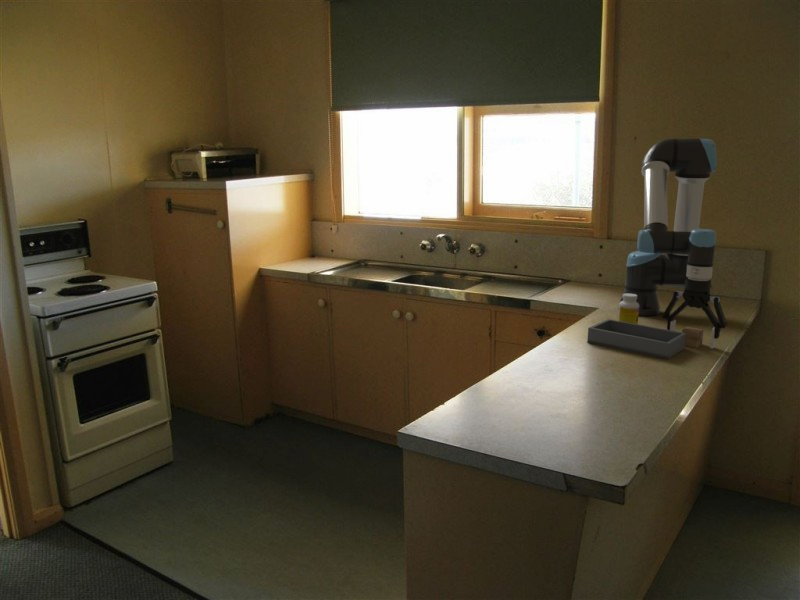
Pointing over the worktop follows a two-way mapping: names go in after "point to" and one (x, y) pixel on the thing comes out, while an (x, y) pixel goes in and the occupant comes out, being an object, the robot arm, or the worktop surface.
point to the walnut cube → (693, 336)
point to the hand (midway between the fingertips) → (691, 343)
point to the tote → (637, 338)
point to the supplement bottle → (628, 309)
